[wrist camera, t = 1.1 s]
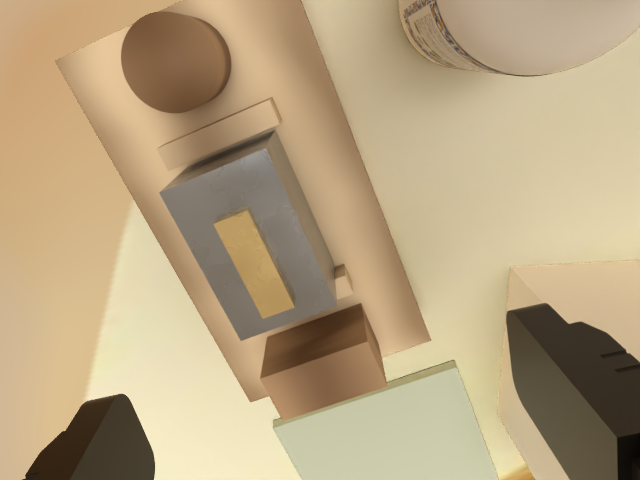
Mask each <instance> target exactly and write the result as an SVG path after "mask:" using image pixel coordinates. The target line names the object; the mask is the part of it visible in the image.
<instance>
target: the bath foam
mask: <svg viewBox="0 0 640 480" xmlns="http://www.w3.org/2000/svg"><path fill="white" fill-rule="evenodd" d="M399 13H400V19H401V23H402V26H403V29H404V31H405V33H406V35H407V37H408V39H409V41H410V42H411V44H412V45H413V46H414V47H415V49H416V50H417V51H418V52H419V53H421V54H422V55H423V56H424V57H426V58H427V59H429V60H430V61H432V62H434V63H437V64H439V65H442V66H446V67H451V68H456V69H464V70H472V71H481V72H489V73H497V74H506V75H514V76H541V75H547V74H552V73H556V72H561V71H564V70H568V69H571V68H574V67H577V66H580V65H582V64H584V63H587V62H589V61H591V60H593V59H595V58H597V57H599V56H601V55H603V54H605V53H606V52H608V51H610V50H611V49H613V48H614V47H616V46H617V45H619V44H620V43H621V42H623V41H624V40H625V39H627V38H628V37H629V36H630V35H631V34H633V33H634V32H635V31H636V30H637V29H638V28H639V27H640V0H399Z"/></svg>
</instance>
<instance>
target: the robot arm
mask: <svg viewBox="0 0 640 480" xmlns="http://www.w3.org/2000/svg"><path fill="white" fill-rule="evenodd" d="M506 324H507V333H508V342H509V351H510V360H511V370H512V377H513V381H514V385H515V389H516V391H517V394H518V397H519V399H520V401H521V403H522V405H523V407H524V408H525V410H526V411H527V413H528V415H529V416H530V418H531V419H532V421H533V422H534V424H535V426H536V427H537V429H538V430H539V432H540V434H541V435H542V437H543V438H544V440H545V441H546V443H547V445H548V446H549V448H550V449H551V451H552V452H553V454H554V456H555V457H556V459H557V460H558V462H559V463H560V465H561V467H562V468H563V470H564V471H565V473H566V474H567V476H568V478H569V479H570V480H640V362H639V361H638V360H637V359H636V358H635V357H634V356H632V355H631V354H630V353H627V352H626V349H625V348H624V347H622V346H621V345H620V344H619V343H618V342H617V341H616V340H615V339H614V338H612V337H611V336H610V335H609V334H608V333H606V332H604V331H602V330H600V329H597V328H595V327H593V326H591V325H588V324H586V323H584V322H582V321H580V322H575V323H571V324H568V323H567V322H566V321H565V320H564V319H563V318H562V317H561V316H560V315H559V314H558V313H557V312H556V311H555V310H554V309H553V308H552V307H551V306H550V305H549V304H547V303H542V304H537V305H532V306H528V307H523V308H518V309H514V310H509V311H508V312H507V314H506ZM154 474H155V461H154V454H153V451H152V448H151V446H150V444H149V441H148V439H147V437H146V435H145V432H144V430H143V428H142V426H141V423H140V421H139V419H138V417H137V414H136V412H135V410H134V408H133V406H132V403H131V401H130V400H129V398H128V397H127V396H126V395H124V394H118V395H113V396H109V397H104V398H99V399H95V400H90V401H87V402H85V403H84V404H83V405H82V406H81V407H80V409H79V410H78V412H77V414H76V415H75V417H74V418H73V420H72V421H71V423H70V425H69V426H68V428H67V429H66V431H63V432H61V433H60V434H59V435H58V436H57V437H56V438H55V439H54V440H53V441H52V442H51V443H50V444H49V445H48V446H47V447H46V448H45V449H44V450H42V451H41V452H40V454H39V455H38V457H37V458H36V460H35V461H34V463H33V464H32V466H31V467H30V469H29V470H28V472H27V473H26V475H25V476H26V479H23V480H154Z"/></svg>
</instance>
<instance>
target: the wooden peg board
mask: <svg viewBox="0 0 640 480" xmlns="http://www.w3.org/2000/svg"><path fill="white" fill-rule="evenodd" d="M55 63H56V64H57V66H58V68H59V70H60V71H61V73H62V75H63V77H64V78H65V80H66V81H67V83H68V85H69V87H70V89H71V90H72V92H73V94H74V96H75V97H76V99H77V101H78V103H79V104H80V106H81V108H82V109H83V111H84V113H85V115H86V117H87V118H88V120H89V122H90V124H91V125H92V127H93V129H94V131H95V132H96V134H97V136H98V138H99V139H100V141H101V143H102V145H103V146H104V148H105V150H106V151H107V153H108V155H109V157H110V158H111V160H112V162H113V164H114V165H115V167H116V168H117V170H118V172H119V174H120V176H121V178H122V179H123V181H124V183H125V185H126V186H127V188H128V190H129V192H130V193H131V195H132V197H133V199H134V200H135V202H136V204H137V206H138V207H139V209H140V211H141V213H142V214H143V216H144V218H145V220H146V221H147V223H148V225H149V226H150V228H151V230H152V232H153V233H154V235H155V237H156V239H157V240H158V242H159V244H160V246H161V247H162V249H163V251H164V253H165V254H166V256H167V258H168V260H169V261H170V263H171V265H172V267H173V268H174V270H175V272H176V274H177V275H178V277H179V279H180V281H181V282H182V284H183V286H184V288H185V289H186V291H187V293H188V295H189V296H190V298H191V300H192V301H193V303H194V305H195V307H196V308H197V310H198V312H199V314H200V315H201V317H202V319H203V321H204V322H205V324H206V326H207V328H208V329H209V331H210V333H211V335H212V336H213V338H214V340H215V342H216V343H217V345H218V347H219V349H220V350H221V352H222V354H223V356H224V357H225V359H226V361H227V363H228V364H229V366H230V368H231V369H232V371H233V373H234V375H235V376H236V378H237V380H238V382H239V383H240V385H241V387H242V389H243V390H244V392H245V394H246V396H247V397H248V399H249V401H250V402H253V401H256V400H259V399H262V398H265V397H268V396H270V398H271V400H272V402H273V404H274V405H275V407H276V409H277V411H278V413H279V414H280V416H281V418H282V420H283V421H285V420H288V419H291V418H294V417H297V416H300V415H303V414H306V413H309V412H312V411H315V410H318V409H321V408H324V407H327V406H330V405H333V404H336V403H339V402H342V401H345V400H348V399H351V398H354V397H357V396H360V395H363V394H366V393H369V392H372V391H375V390H378V389H381V388H384V387H387V382H386V377H385V372H384V367H383V362H382V358H381V357H384V356H387V355H390V354H393V353H396V352H399V351H402V350H405V349H408V348H411V347H413V346H416V345H419V344H422V343H425V342H428V341H431V338H430V336H429V333H428V331H427V328H426V325H425V323H424V320H423V318H422V315H421V312H420V310H419V307H418V304H417V302H416V299H415V297H414V294H413V291H412V289H411V286H410V284H409V281H408V278H407V276H406V273H405V271H404V268H403V265H402V263H401V260H400V258H399V255H398V252H397V250H396V247H395V245H394V242H393V239H392V237H391V234H390V232H389V229H388V226H387V224H386V221H385V218H384V216H383V213H382V211H381V208H380V205H379V203H378V200H377V198H376V195H375V192H374V190H373V187H372V185H371V182H370V179H369V177H368V174H367V172H366V169H365V166H364V164H363V161H362V159H361V156H360V153H359V151H358V148H357V146H356V143H355V140H354V138H353V135H352V133H351V130H350V127H349V125H348V122H347V119H346V117H345V114H344V112H343V109H342V106H341V104H340V101H339V99H338V96H337V93H336V91H335V88H334V86H333V83H332V80H331V78H330V75H329V73H328V70H327V67H326V65H325V62H324V60H323V57H322V54H321V52H320V49H319V47H318V44H317V41H316V39H315V36H314V33H313V31H312V28H311V26H310V23H309V20H308V18H307V15H306V13H305V10H304V7H303V5H302V2H301V0H182V1H180V2H178V3H176V4H174V5H171V6H170V7H168V8H165V9H163V10H161V11H159V12H154V13H150V14H148V15H145V16H144V17H142V18H140V19H139V20H138V21H136V22H135V23H134V24H132V25H130V26H127V27H125V28H123V29H121V30H119V31H117V32H115V33H113V34H111V35H108V36H106V37H104V38H102V39H100V40H98V41H96V42H94V43H91V44H89V45H87V46H85V47H83V48H81V49H79V50H77V51H75V52H73V53H71V54H68V55H66V56H64V57H62V58H60V59H58V60H56V61H55ZM274 129H276V131H277V134H278V136H279V138H280V141H281V143H282V145H283V147H284V150H285V152H286V154H287V156H288V159H289V161H290V163H291V166H292V168H293V170H294V172H295V175H296V177H297V179H298V182H299V184H300V186H301V188H302V191H303V193H304V195H305V197H306V200H307V202H308V204H309V207H310V209H311V211H312V213H313V216H314V218H315V220H316V223H317V225H318V227H319V229H320V232H321V234H322V236H323V238H324V241H325V243H326V245H327V248H328V250H329V252H330V254H331V257H332V259H333V261H334V269H335V282H336V296H337V306H336V307H334V308H331V309H328V310H325V311H323V312H320V313H317V314H314V315H311V316H309V317H306V318H303V319H300V320H298V321H295V322H292V323H289V324H287V325H284V326H281V327H278V328H276V329H273V330H270V331H267V332H265V333H262V334H259V335H256V336H254V337H251V338H248V339H245V340H243V341H240V339H239V337H238V335H237V333H236V332H235V330H234V328H233V326H232V324H231V323H230V321H229V319H228V317H227V315H226V314H225V312H224V310H223V308H222V306H221V304H220V303H219V301H218V299H217V297H216V295H215V294H214V292H213V290H212V288H211V286H210V284H209V283H208V281H207V279H206V277H205V275H204V274H203V272H202V270H201V268H200V266H199V265H198V263H197V261H196V259H195V257H194V255H193V254H192V252H191V250H190V248H189V246H188V245H187V243H186V241H185V239H184V237H183V235H182V234H181V232H180V230H179V228H178V226H177V225H176V223H175V221H174V219H173V217H172V216H171V214H170V212H169V210H168V208H167V206H166V205H165V203H164V201H163V199H162V197H161V196H160V194H159V192H160V191H162V190H163V189H164V188H165V187H166V186H167V185H168V184H169V183H170V182H171V181H172V180H173V179H174V178H176V177H177V176H178V175H179V174H180V173H181V172H182V171H183V170H184V169H185V168H186V167H187V166H189V165H192V164H194V163H196V162H199V161H201V160H203V159H206V158H208V157H211V156H213V155H215V154H218V153H220V152H222V151H225V150H227V149H229V148H232V147H234V146H237V145H239V144H241V143H244V142H246V141H248V140H251V139H253V138H255V137H258V136H260V135H263V134H265V133H267V132H270V131H272V130H274Z"/></svg>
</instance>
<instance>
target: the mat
mask: <svg viewBox="0 0 640 480" xmlns="http://www.w3.org/2000/svg"><path fill="white" fill-rule="evenodd" d="M273 429H274V431H275V433H276V435H277V436H278V438H279V440H280V442H281V444H282V445H283V447H284V449H285V451H286V452H287V454H288V456H289V458H290V459H291V461H292V463H293V465H294V467H295V468H296V470H297V472H298V474H299V475H300V477H301V479H302V480H499V479H498V476H497V474H496V471H495V468H494V466H493V463H492V460H491V457H490V455H489V452H488V449H487V447H486V444H485V441H484V439H483V436H482V433H481V430H480V428H479V425H478V422H477V420H476V417H475V414H474V411H473V409H472V406H471V403H470V401H469V398H468V395H467V393H466V390H465V387H464V384H463V382H462V379H461V376H460V374H459V371H458V368H457V366H456V363H455V361H454V360H453V361H450V362H447V363H444V364H441V365H438V366H435V367H432V368H429V369H426V370H423V371H420V372H417V373H414V374H411V375H408V376H405V377H402V378H399V379H396V380H393V381H390V382H387V387H384V388H381V389H378V390H375V391H372V392H369V393H366V394H363V395H360V396H357V397H354V398H351V399H348V400H345V401H342V402H339V403H336V404H333V405H330V406H327V407H324V408H321V409H318V410H315V411H312V412H309V413H306V414H303V415H300V416H297V417H294V418H291V419H288V420H285V421H283V420H282V418H280V419H277V420H274V423H273Z"/></svg>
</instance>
